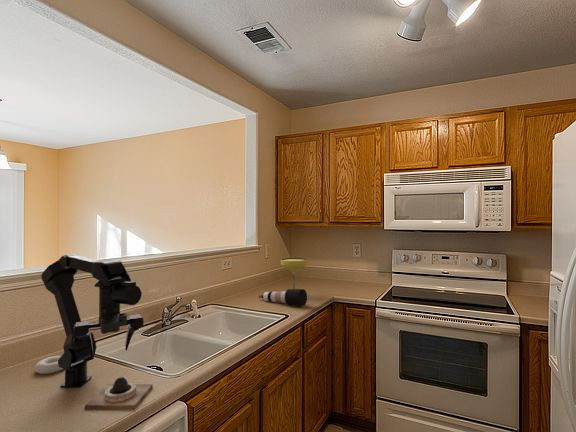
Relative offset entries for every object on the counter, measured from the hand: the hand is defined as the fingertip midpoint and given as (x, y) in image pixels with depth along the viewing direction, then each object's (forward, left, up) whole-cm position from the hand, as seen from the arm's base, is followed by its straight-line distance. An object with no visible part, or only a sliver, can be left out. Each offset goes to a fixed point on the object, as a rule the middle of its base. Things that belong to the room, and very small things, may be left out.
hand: (109, 352), depth 102 cm
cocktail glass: (-130, +58, -12) cm, 143 cm away
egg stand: (+3, +5, -12) cm, 13 cm away
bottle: (-109, +49, -12) cm, 120 cm away
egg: (+3, +5, -11) cm, 13 cm away
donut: (-16, -29, -12) cm, 36 cm away
